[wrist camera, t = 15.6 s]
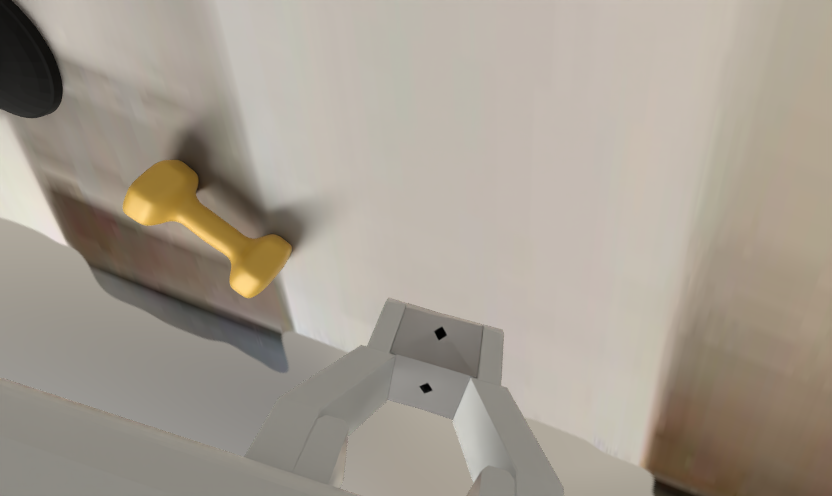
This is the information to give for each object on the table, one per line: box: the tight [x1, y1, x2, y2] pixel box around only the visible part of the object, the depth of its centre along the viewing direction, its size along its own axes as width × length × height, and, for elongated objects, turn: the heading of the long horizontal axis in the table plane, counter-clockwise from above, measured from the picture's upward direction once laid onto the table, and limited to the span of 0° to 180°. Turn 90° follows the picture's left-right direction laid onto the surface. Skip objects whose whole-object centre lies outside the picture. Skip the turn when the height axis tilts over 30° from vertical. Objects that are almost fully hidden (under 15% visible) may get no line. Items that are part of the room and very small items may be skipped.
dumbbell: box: [123, 160, 292, 298], centre depth 49 cm, size 19×9×8 cm, turn 49°
